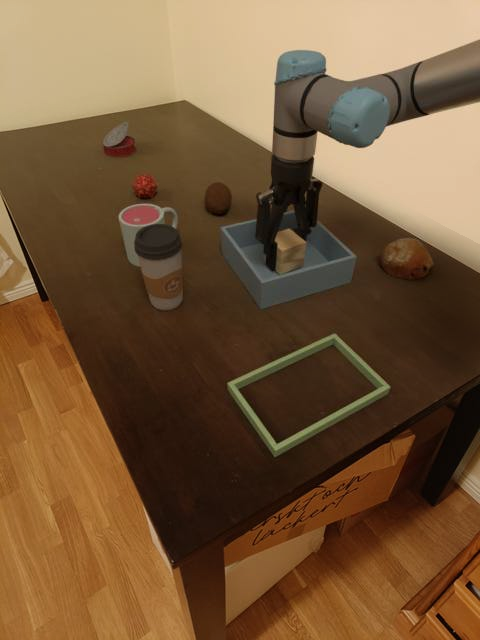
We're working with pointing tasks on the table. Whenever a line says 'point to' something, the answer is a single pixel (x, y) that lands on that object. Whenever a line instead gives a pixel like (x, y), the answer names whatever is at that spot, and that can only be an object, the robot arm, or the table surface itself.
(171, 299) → the coffee cup
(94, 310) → the table surface
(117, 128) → the canned food
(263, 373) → the frame
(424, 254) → the bread roll
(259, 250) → the bin
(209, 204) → the potato
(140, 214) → the mug
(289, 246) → the block
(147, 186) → the red bumpy ball
